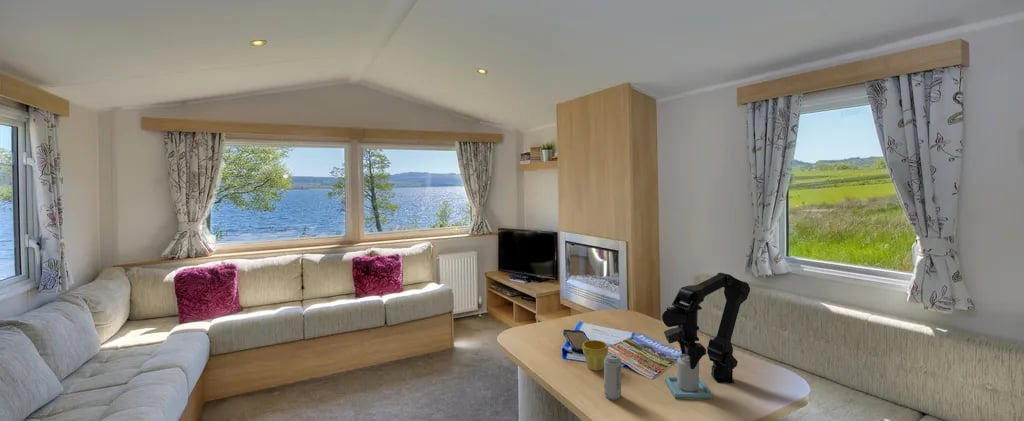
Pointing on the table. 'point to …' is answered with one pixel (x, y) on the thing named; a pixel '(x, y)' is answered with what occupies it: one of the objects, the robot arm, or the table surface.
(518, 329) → the table surface
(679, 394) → the tray
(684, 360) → the can
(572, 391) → the table surface
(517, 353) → the table surface
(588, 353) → the plant pot
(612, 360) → the energy drink can
